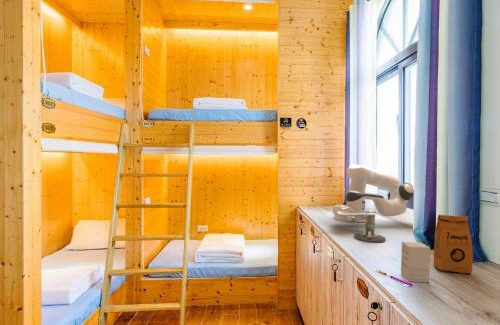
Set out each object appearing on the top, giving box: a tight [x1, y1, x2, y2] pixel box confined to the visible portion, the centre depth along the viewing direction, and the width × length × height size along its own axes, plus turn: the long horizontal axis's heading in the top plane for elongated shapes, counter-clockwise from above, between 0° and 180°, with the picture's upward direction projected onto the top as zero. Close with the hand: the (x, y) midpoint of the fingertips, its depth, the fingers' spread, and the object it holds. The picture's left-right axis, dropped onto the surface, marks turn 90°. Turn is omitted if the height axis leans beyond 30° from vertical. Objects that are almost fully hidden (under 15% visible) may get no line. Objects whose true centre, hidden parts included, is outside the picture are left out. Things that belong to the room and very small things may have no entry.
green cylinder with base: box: [361, 213, 379, 238], centre depth 174 cm, size 8×8×12 cm
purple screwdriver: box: [377, 269, 414, 287], centre depth 116 cm, size 3×1×16 cm
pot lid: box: [353, 231, 387, 244], centre depth 174 cm, size 16×16×5 cm
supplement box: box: [400, 241, 431, 283], centre depth 117 cm, size 7×7×13 cm
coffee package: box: [433, 214, 474, 274], centre depth 127 cm, size 10×12×22 cm
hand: (360, 218), depth 183 cm, fingers open, 8 cm apart
